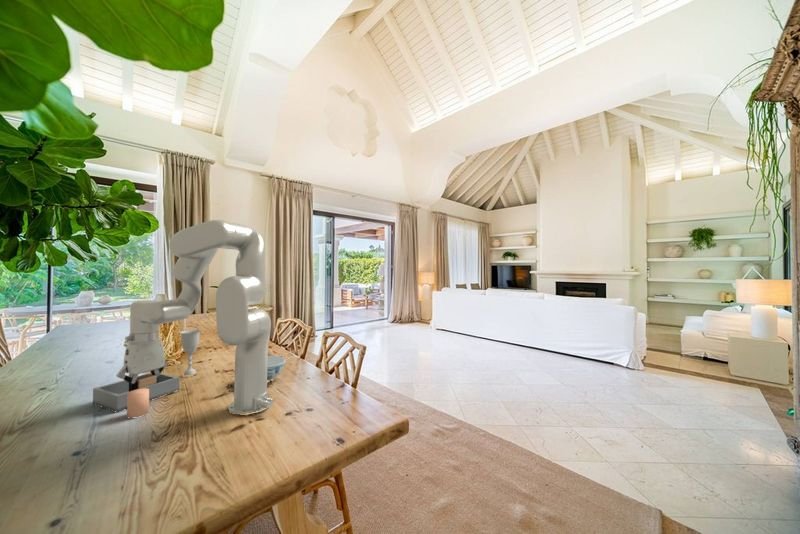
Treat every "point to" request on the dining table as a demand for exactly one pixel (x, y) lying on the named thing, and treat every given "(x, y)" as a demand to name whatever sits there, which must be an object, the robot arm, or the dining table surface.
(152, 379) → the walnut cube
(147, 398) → the terracotta cylinder
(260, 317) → the robot arm
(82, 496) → the dining table surface
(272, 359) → the chinaware
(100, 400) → the tray
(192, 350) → the chalice
